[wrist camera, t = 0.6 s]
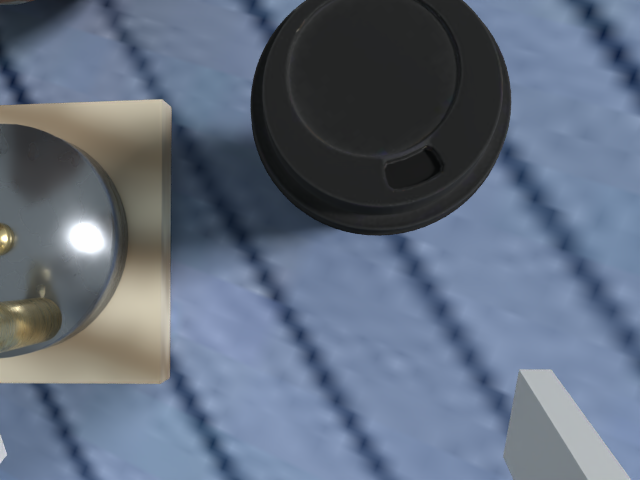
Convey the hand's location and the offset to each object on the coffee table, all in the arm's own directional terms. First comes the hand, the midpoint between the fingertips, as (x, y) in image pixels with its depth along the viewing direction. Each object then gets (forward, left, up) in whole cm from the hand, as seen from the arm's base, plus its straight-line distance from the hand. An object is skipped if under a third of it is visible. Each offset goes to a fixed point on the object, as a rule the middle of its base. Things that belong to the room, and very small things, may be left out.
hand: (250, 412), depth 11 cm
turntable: (+5, +18, -17) cm, 25 cm away
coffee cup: (+9, -4, -19) cm, 21 cm away
